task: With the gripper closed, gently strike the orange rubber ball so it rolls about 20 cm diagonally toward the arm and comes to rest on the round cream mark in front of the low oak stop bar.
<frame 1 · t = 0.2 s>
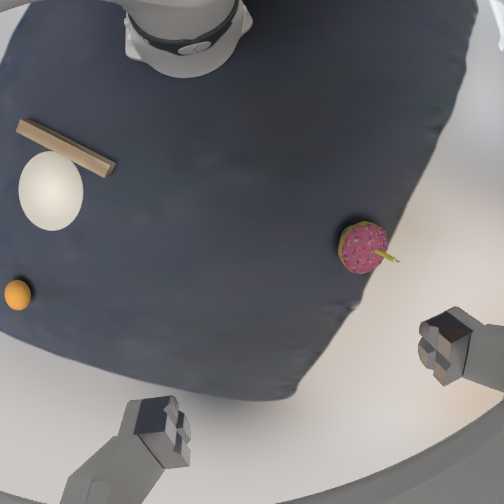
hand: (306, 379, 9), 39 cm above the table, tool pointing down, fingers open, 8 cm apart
ball: (17, 294, 43), on the table
stop bar: (67, 145, 39), on the table
cupcake: (351, 238, 51), on the table
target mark: (49, 191, 41), on the table
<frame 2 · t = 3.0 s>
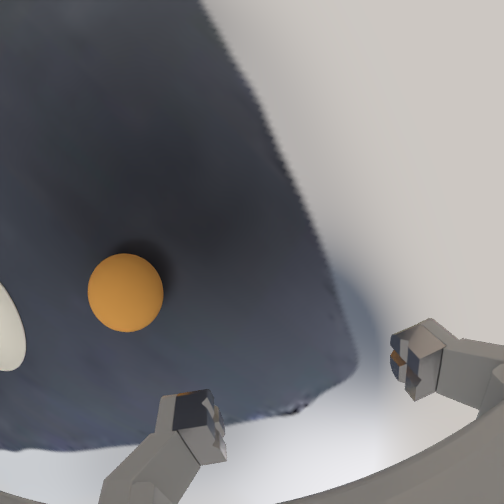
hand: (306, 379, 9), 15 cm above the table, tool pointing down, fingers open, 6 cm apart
ball: (125, 292, 20), on the table
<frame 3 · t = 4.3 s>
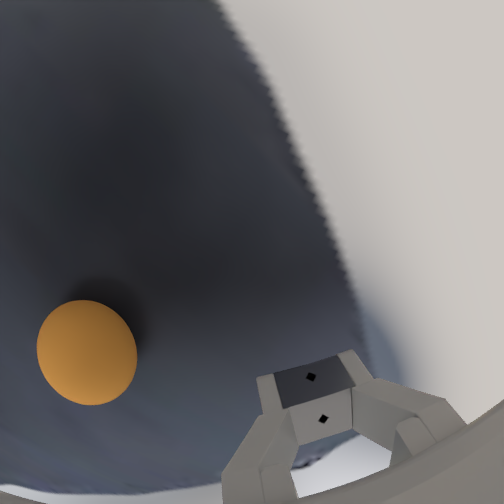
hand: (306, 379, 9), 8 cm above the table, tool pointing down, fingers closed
ball: (86, 352, 14), on the table
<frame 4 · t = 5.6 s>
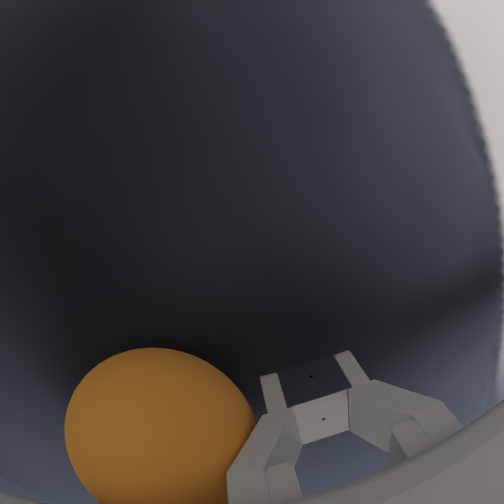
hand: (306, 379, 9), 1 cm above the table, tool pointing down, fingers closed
ball: (161, 440, 7), on the table, touching gripper
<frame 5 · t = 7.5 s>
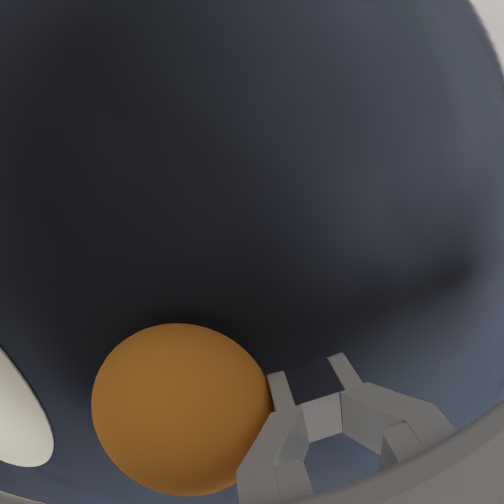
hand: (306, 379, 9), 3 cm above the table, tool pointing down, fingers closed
ball: (181, 411, 8), on the table, touching gripper
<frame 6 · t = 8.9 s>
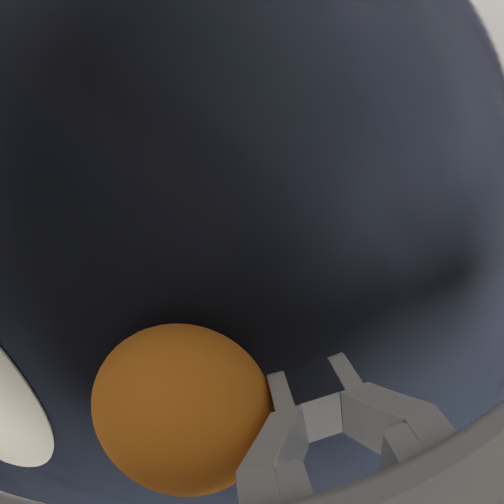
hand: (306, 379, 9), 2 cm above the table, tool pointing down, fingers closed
ball: (181, 411, 8), on the table, touching gripper
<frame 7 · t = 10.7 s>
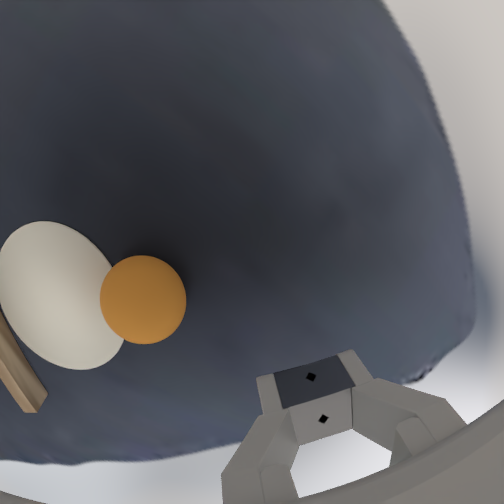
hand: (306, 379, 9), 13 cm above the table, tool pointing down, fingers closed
ball: (142, 299, 18), on the table
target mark: (54, 302, 21), on the table
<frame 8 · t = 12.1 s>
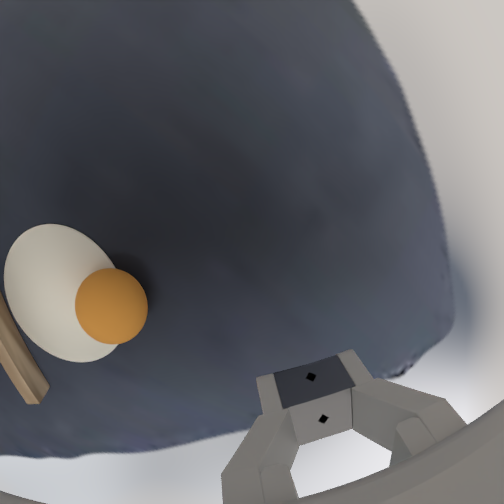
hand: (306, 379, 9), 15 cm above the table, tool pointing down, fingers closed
ball: (111, 306, 20), on the table
stop bar: (3, 313, 22), on the table
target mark: (59, 298, 23), on the table
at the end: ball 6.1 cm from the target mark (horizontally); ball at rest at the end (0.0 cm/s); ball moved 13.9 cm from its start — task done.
